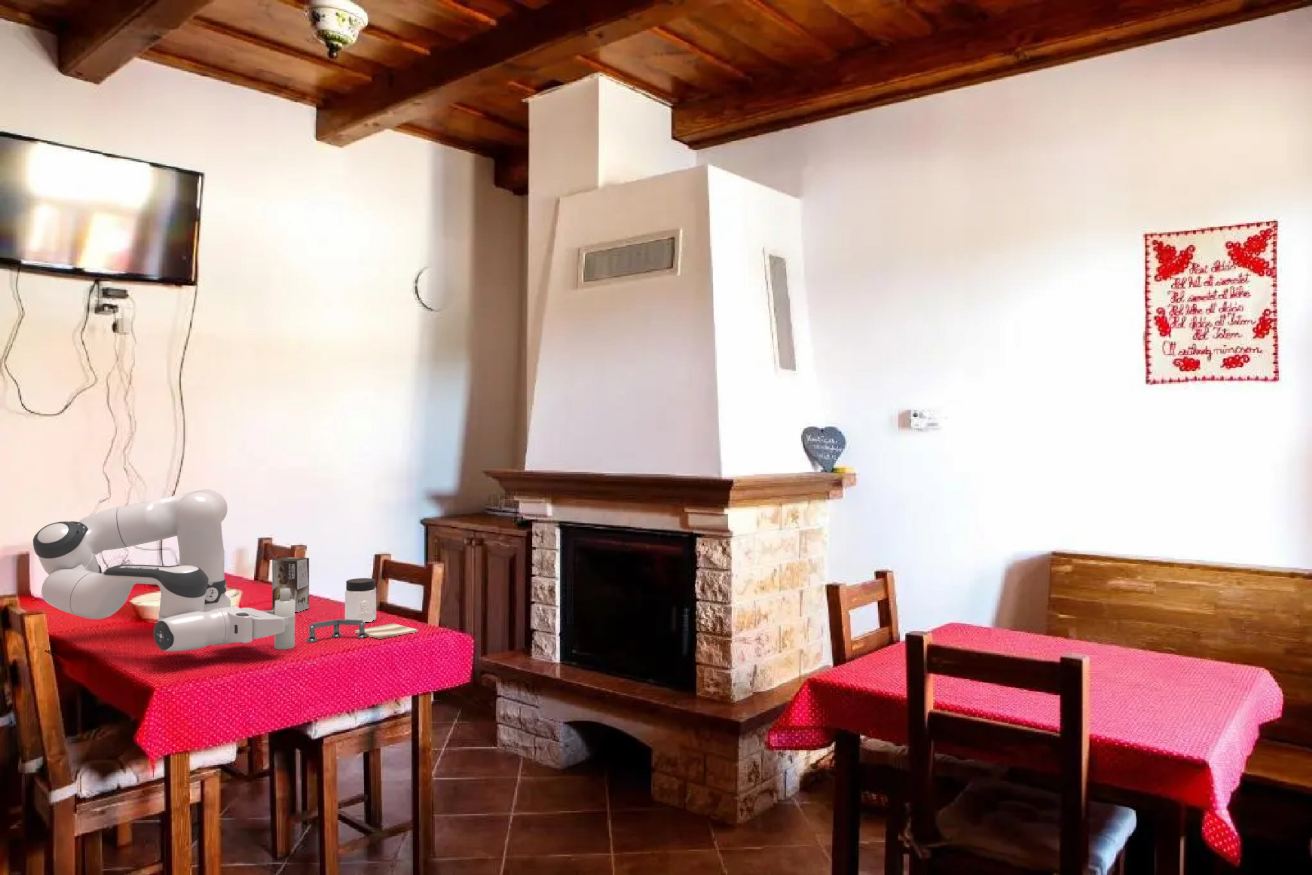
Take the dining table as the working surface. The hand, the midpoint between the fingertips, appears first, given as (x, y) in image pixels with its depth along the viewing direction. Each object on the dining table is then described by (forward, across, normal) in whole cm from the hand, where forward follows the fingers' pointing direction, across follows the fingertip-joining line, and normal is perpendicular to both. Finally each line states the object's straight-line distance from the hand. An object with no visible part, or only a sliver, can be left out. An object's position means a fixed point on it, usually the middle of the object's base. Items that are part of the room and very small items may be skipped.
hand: (284, 616), depth 228 cm
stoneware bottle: (0, 0, -8) cm, 8 cm away
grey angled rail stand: (+14, +2, -8) cm, 16 cm away
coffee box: (+24, -44, -8) cm, 51 cm away
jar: (+30, -14, -8) cm, 34 cm away
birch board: (+27, +5, -8) cm, 28 cm away
